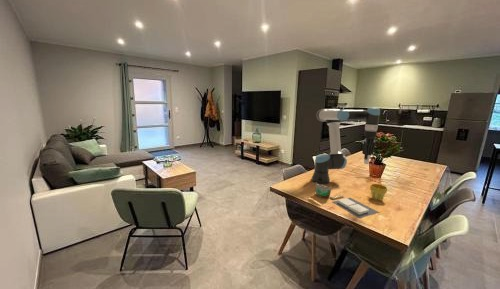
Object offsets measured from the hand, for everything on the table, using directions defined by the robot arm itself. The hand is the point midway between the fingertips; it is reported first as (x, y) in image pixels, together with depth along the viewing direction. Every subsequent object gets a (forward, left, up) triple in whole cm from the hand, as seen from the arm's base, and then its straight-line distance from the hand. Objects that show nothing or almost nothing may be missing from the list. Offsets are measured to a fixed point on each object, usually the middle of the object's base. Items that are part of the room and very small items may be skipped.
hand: (366, 163), depth 147 cm
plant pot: (+5, +10, -27) cm, 29 cm away
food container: (-11, -28, -27) cm, 40 cm away
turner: (-6, -14, -27) cm, 31 cm away
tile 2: (+14, -16, -24) cm, 32 cm away
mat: (+9, -18, -26) cm, 33 cm away
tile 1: (+4, -16, -24) cm, 29 cm away
